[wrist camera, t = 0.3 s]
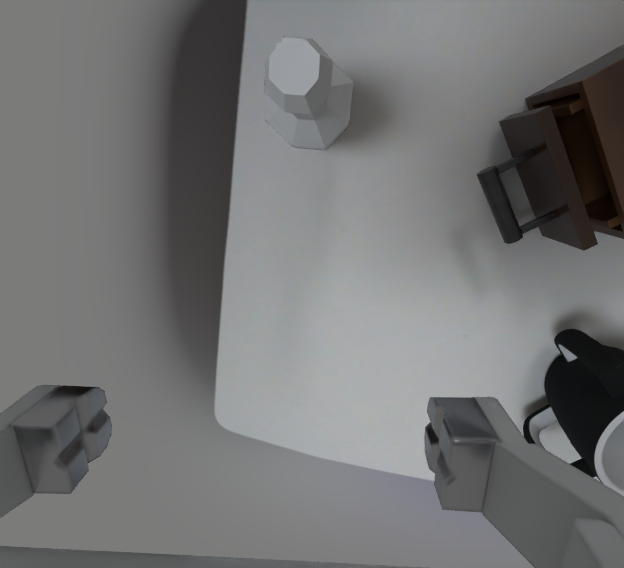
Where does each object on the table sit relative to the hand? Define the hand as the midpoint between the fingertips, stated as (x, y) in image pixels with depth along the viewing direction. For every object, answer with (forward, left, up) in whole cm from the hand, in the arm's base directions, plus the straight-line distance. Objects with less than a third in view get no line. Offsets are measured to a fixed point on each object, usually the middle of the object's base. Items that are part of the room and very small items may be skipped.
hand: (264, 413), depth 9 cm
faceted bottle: (-9, +5, -33) cm, 34 cm away
